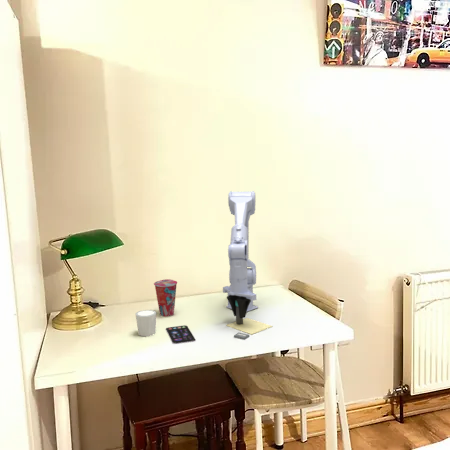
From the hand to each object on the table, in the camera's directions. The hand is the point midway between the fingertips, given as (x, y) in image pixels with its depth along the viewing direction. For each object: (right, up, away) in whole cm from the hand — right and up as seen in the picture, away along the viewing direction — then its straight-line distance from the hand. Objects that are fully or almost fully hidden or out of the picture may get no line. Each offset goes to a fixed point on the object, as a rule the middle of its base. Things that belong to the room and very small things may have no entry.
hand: (239, 316), depth 173 cm
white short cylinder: (-31, -5, -6) cm, 32 cm away
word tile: (0, -5, -11) cm, 12 cm away
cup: (-27, -2, +13) cm, 30 cm away
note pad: (+3, -3, -2) cm, 5 cm away
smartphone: (-20, -5, -7) cm, 22 cm away
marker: (0, -2, 0) cm, 2 cm away
